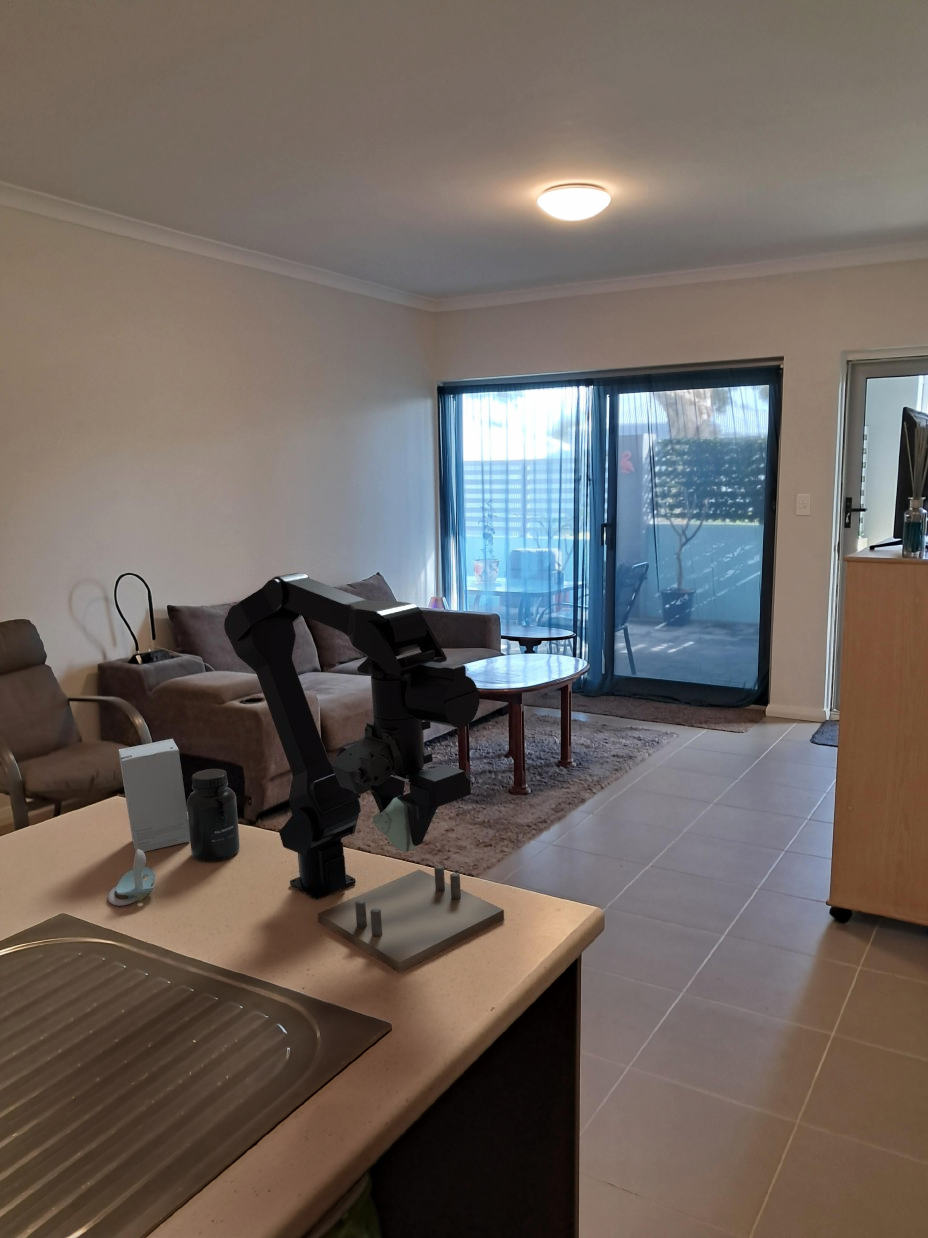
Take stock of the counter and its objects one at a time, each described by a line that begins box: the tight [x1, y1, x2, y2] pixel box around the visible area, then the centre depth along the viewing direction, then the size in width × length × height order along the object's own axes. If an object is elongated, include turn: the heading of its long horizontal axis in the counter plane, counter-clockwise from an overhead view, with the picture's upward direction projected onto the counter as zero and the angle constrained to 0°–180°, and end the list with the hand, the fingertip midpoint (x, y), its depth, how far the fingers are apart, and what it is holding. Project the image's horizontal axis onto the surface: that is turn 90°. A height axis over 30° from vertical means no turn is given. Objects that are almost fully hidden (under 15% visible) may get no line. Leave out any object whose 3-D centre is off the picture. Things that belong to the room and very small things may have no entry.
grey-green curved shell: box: [372, 797, 439, 853], centre depth 111 cm, size 8×4×7 cm, turn 108°
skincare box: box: [118, 738, 190, 853], centre depth 139 cm, size 8×6×15 cm
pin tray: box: [317, 865, 505, 973], centre depth 113 cm, size 16×16×4 cm
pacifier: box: [107, 849, 156, 907], centre depth 123 cm, size 7×6×6 cm
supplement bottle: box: [186, 768, 241, 863], centre depth 134 cm, size 7×7×12 cm
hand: (405, 839), depth 112 cm, fingers closed on grey-green curved shell, 4 cm apart
